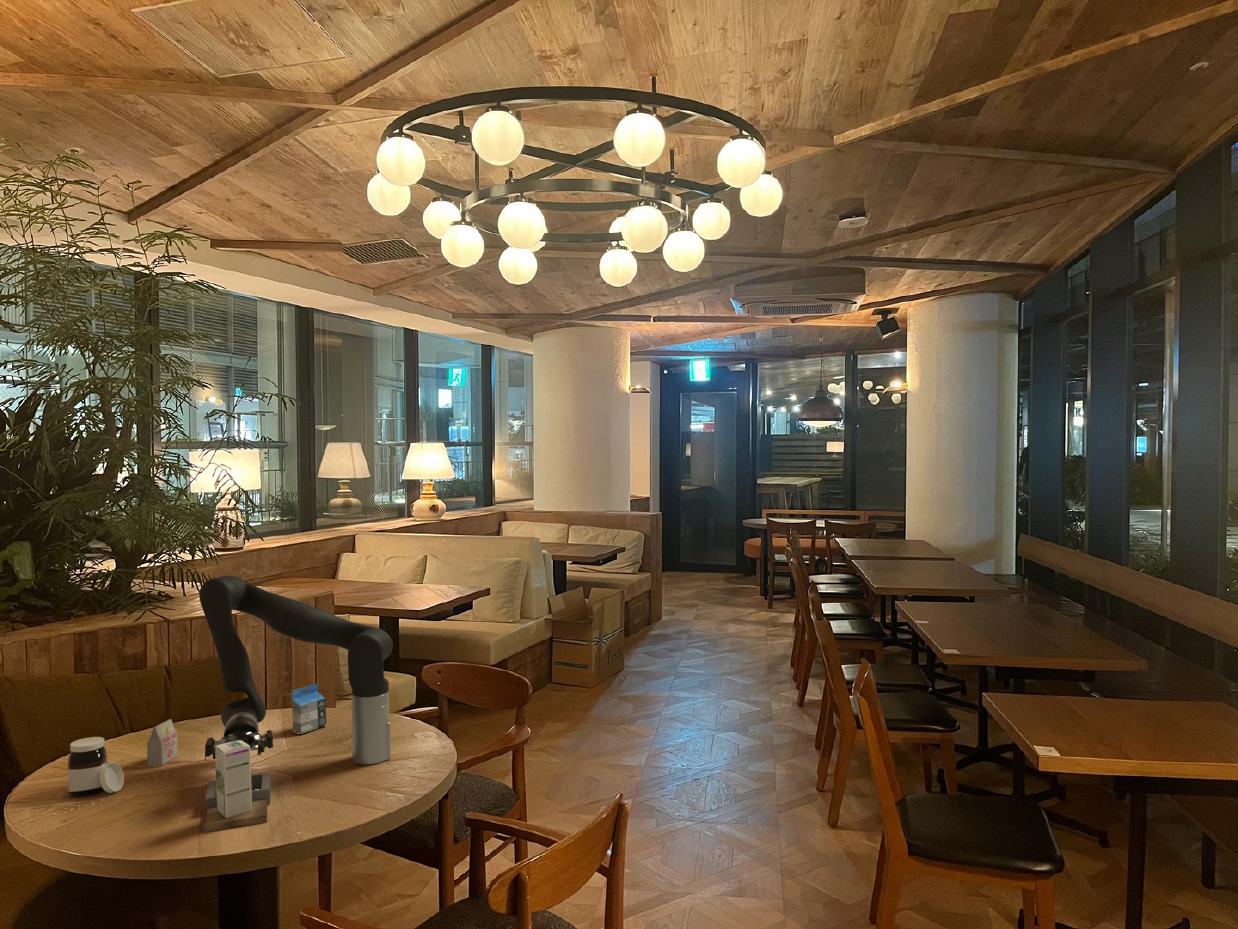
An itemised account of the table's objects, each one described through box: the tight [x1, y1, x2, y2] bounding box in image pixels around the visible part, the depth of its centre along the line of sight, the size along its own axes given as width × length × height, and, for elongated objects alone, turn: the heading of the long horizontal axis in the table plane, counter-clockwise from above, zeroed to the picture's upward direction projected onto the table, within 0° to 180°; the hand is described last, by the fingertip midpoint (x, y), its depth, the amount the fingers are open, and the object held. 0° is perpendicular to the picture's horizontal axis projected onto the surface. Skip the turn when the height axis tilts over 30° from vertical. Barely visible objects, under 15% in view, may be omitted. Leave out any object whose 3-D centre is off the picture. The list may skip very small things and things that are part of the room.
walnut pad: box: [203, 799, 268, 833], centre depth 177 cm, size 12×9×2 cm
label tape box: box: [291, 683, 327, 735], centre depth 235 cm, size 9×4×12 cm, turn 149°
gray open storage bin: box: [204, 771, 271, 815], centre depth 187 cm, size 13×11×4 cm
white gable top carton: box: [146, 718, 179, 768], centre depth 211 cm, size 4×7×10 cm, turn 175°
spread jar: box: [67, 736, 125, 797], centre depth 193 cm, size 12×11×12 cm
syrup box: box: [215, 740, 252, 818], centre depth 177 cm, size 6×6×14 cm
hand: (238, 753), depth 183 cm, fingers open, 8 cm apart
